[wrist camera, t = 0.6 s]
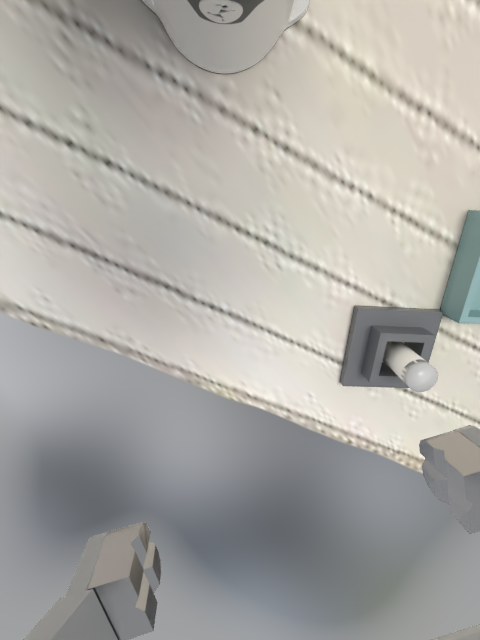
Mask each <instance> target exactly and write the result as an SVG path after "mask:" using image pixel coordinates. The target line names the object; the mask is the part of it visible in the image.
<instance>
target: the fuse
mask: <svg viewBox="0 0 480 640" xmlns="http://www.w3.org/2000/svg"><path fill="white" fill-rule="evenodd" d="M383 361H384V362H385V363H386V364H387V365H388V366H389V367H390V368H391V369H392V370H393V371H394V373H395V374H396V375H397V376H398V377H399V378H400V379H401V380H402V381H403V382H404V383H405V384H406V385H407V386H408V387H409V388H410V389H412V390H413V391H415V392H424V391H427V390H429V389H430V388H432V387H433V386H434V385H435V383H436V382H437V379H438V372H437V370H436V369H435V368H434V367H433V366H432V365H430V364H429V363H428V362H427V361H425V360H424V359H423V358H422V357H420V356H419V355H418V354H417V353H415V352H414V351H413V350H411V349H410V348H409V347H408V346H406V345H405V344H404V343H403V342H395V341H387V344H386V348H385V352H384V356H383Z"/></svg>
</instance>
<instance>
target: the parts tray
mask: <svg viewBox="0 0 480 640" xmlns="http://www.w3.org/2000/svg"><path fill="white" fill-rule="evenodd" d="M440 311H441V312H443V315H444V316H446V317H448V318H450V319H452V320H454V321H456V322H458V323H467V324H480V211H472V210H469V212H468V215H467V218H466V222H465V225H464V229H463V232H462V236H461V239H460V243H459V246H458V250H457V253H456V256H455V260H454V263H453V267H452V270H451V274H450V277H449V281H448V284H447V287H446V291H445V294H444V298H443V301H442V305H441V308H440Z"/></svg>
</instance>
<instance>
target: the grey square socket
mask: <svg viewBox="0 0 480 640" xmlns="http://www.w3.org/2000/svg"><path fill="white" fill-rule="evenodd" d="M442 315H443V312H441V311H439V310H437V309H417V308H396V307H376V306H355V307H354V312H353V317H352V322H351V327H350V332H349V337H348V342H347V347H346V353H345V358H344V363H343V368H342V373H341V378H340V382H341V384H342V385H343V386H360V387H394V388H409V387H408V386H407V385H406V384H405V383H404V382H403V381H402V380H401V379H400V378H399V377H398V376H397V375H396V374H395V373H394V371H393V370H392V369H391V368H390V367H389V366H388V365H387V364H386V363H385V362H382V360H383V356H384V352H385V348H386V344H387V341H395V342H405V345H406V346H408V347H409V348H410V349H411V350H413V351H414V352H415V353H417V354H418V355H419V356H420V357H422V358H423V359H424V360H425V361H427V362H429V359H430V356H431V352H432V349H433V345H434V342H435V339H436V335H437V332H438V328H439V325H440V322H441V318H442Z"/></svg>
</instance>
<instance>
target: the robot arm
mask: <svg viewBox="0 0 480 640" xmlns="http://www.w3.org/2000/svg"><path fill="white" fill-rule="evenodd" d="M142 1H143V2H144V3H145V4H146V5H147V6H148V7H149V8H150V9H151V10H152V11H153V12H155V13H156V14H157V16H158V17H159V19H160V20H161V22H162V24H163V26H164V28H165V30H166V32H167V33H168V35H169V37H170V39H171V40H172V42H173V43H174V45H175V46H176V47H177V49H178V50H179V51H180V52H181V53H182V54H183V55H184V56H185V57H186V58H187V59H188V60H190V61H191V62H192V63H194V64H195V65H197V66H199V67H201V68H203V69H205V70H208V71H211V72H215V73H235V72H240V71H243V70H245V69H248V68H250V67H252V66H253V65H255V64H256V63H258V62H259V61H260V60H261V59H263V58H264V57H265V56H266V55H267V54H268V52H269V51H270V50H271V49H272V47H273V46H274V44H275V43H276V41H277V40H278V38H279V37H280V35H281V34H282V33H283V31H284V30H285V29H286V28H288V27H290V26H291V25H293V24H294V23H296V22H297V21H298V20H300V19H301V18H302V17H303V16H304V15H305V13H306V12H307V9H308V6H309V0H142ZM419 447H420V453H421V454H422V455H423V456H424V457H425V460H424V462H423V464H422V469H423V475H424V477H425V480H426V482H427V485H428V486H429V488H430V489H431V491H432V493H433V494H434V495H435V496H436V497H437V498H438V499H439V500H440V501H442V502H445V503H447V504H449V505H450V512H451V514H452V515H453V516H454V517H455V518H456V520H457V521H458V522H459V523H460V524H461V525H462V526H463V527H464V528H465V529H466V530H467V532H468V533H469V534H471V533H475V532H478V531H480V430H479V429H478V428H476V427H475V426H471V425H468V426H465V427H462V428H459V429H456V430H453V431H450V432H447V433H444V434H440V435H437V436H434V437H431V438H427V439H424V440H421V441H420V444H419ZM149 539H150V530H149V528H148V526H147V523H139V524H135V525H131V526H127V527H124V528H120V529H116V530H112V531H109V532H107V533H103V534H99V535H95V536H92V537H91V538H90V539H89V540H88V541H87V544H86V546H85V548H84V551H83V553H82V556H81V558H80V561H79V564H78V566H77V569H76V571H75V574H74V577H73V579H72V581H71V584H70V586H69V589H68V592H67V594H66V597H63V598H60V599H59V600H58V601H57V602H56V603H55V604H54V606H53V607H52V608H51V609H50V610H49V611H48V612H47V613H46V615H45V616H44V617H43V618H42V619H41V620H40V621H39V623H38V624H37V625H36V626H35V627H34V628H33V629H32V630H31V632H30V633H29V634H28V635H27V636H26V637H25V638H24V639H23V640H129V639H132V638H134V637H137V636H140V635H143V634H146V633H149V632H152V631H154V624H155V615H156V609H157V600H156V598H155V595H154V592H155V591H156V589H157V588H158V586H159V585H160V577H161V563H160V557H159V552H158V549H157V547H156V545H155V544H154V543H152V542H150V541H149ZM432 640H480V624H479V625H476V626H472V627H469V628H466V629H463V630H460V631H457V632H454V633H450V634H447V635H444V636H441V637H438V638H435V639H432Z"/></svg>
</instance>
